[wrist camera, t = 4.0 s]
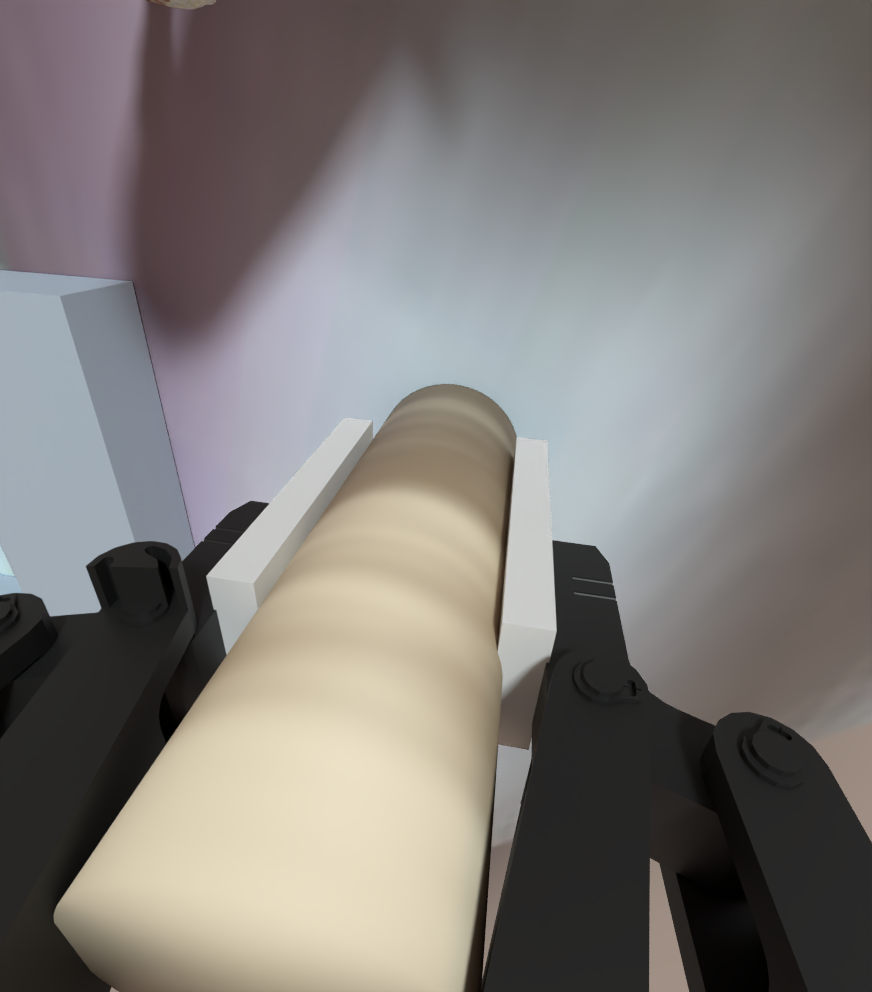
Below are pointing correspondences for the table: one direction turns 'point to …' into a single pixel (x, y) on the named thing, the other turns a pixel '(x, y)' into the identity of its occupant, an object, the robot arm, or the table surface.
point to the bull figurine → (184, 3)
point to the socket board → (79, 436)
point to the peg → (333, 749)
